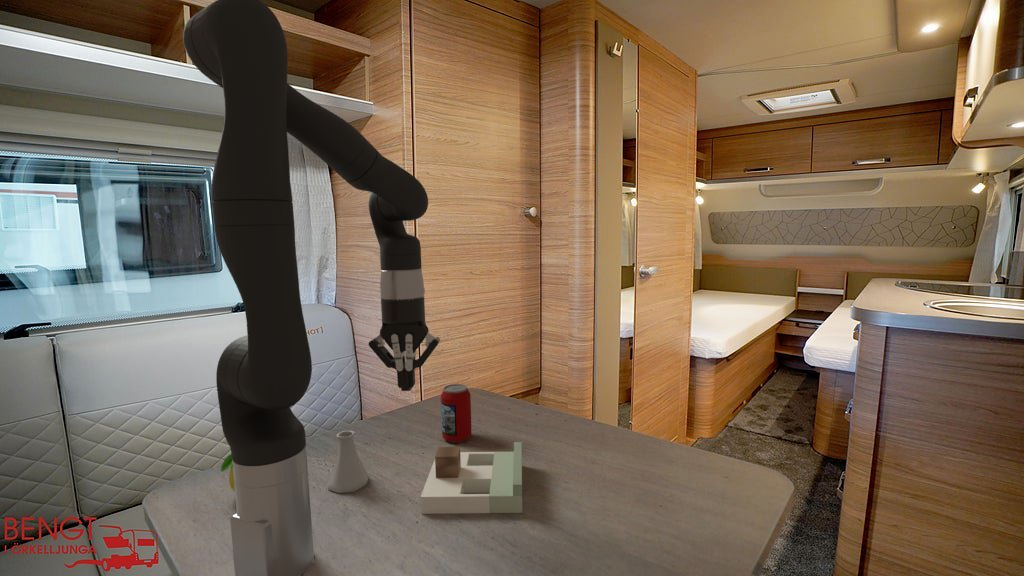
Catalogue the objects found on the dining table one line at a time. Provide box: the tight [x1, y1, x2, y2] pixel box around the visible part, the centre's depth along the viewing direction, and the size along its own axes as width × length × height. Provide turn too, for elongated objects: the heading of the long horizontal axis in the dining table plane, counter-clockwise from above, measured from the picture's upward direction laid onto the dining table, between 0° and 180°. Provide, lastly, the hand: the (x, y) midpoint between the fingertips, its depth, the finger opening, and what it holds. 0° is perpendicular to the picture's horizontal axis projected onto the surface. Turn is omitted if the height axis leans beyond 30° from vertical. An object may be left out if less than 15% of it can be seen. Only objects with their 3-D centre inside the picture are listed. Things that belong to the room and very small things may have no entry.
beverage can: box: [440, 383, 472, 444], centre depth 110 cm, size 7×7×12 cm
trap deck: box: [420, 441, 523, 515], centre depth 89 cm, size 17×16×5 cm
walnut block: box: [434, 446, 461, 478], centre depth 89 cm, size 4×4×4 cm
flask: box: [327, 430, 370, 494], centre depth 91 cm, size 7×7×10 cm
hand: (406, 389), depth 87 cm, fingers closed
